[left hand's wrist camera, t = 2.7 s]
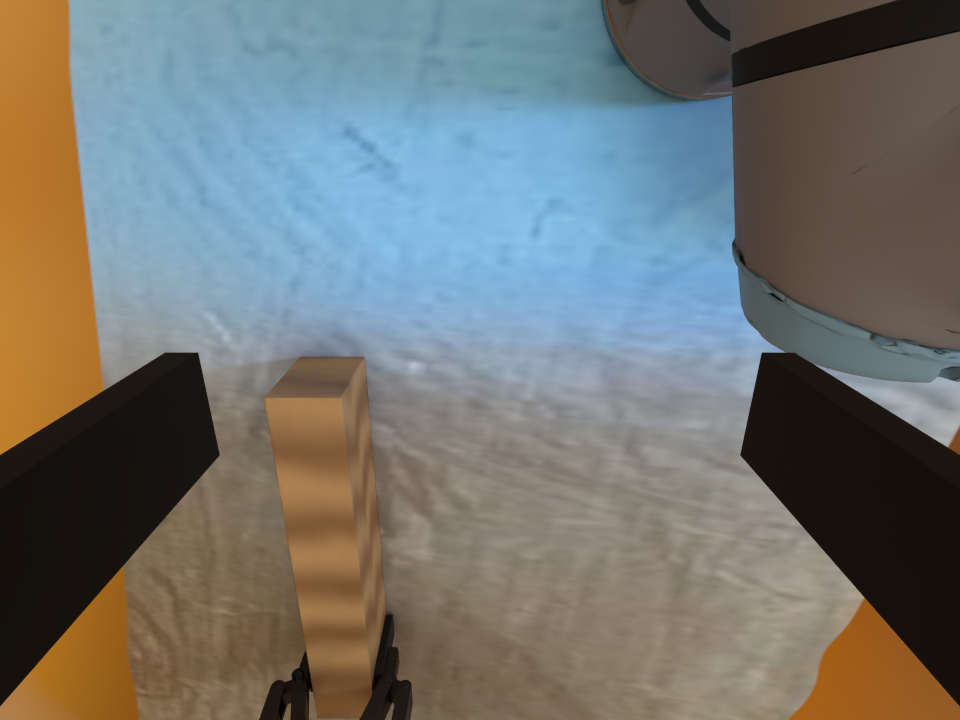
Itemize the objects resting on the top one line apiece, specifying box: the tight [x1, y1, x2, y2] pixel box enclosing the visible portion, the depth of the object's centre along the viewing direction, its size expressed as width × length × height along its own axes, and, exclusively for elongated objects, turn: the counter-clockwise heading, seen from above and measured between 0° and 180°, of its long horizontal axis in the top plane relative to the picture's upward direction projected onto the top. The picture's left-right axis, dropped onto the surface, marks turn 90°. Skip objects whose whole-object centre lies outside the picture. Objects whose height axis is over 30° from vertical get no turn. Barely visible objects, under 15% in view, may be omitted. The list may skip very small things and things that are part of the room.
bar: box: [264, 357, 387, 718], centre depth 47 cm, size 34×6×8 cm, turn 0°
